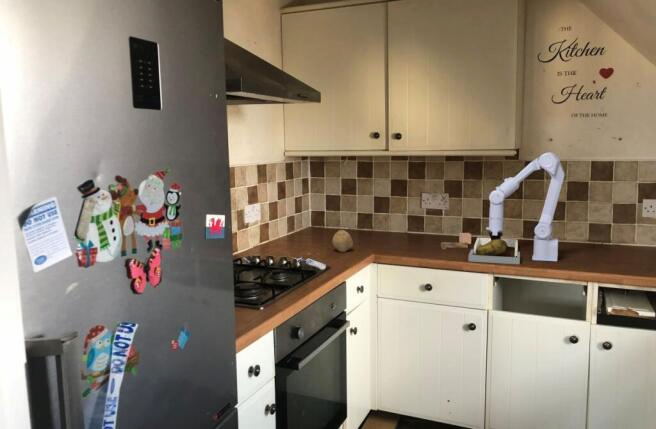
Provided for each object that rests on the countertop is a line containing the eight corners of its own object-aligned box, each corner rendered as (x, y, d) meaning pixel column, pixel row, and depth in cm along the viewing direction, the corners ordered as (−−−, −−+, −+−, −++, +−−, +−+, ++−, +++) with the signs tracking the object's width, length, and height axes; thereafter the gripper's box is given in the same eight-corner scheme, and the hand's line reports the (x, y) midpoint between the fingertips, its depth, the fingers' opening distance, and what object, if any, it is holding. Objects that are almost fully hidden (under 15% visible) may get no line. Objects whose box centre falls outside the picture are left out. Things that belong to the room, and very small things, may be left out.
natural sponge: (328, 251, 251) (328, 229, 250) (344, 248, 256) (344, 227, 254) (339, 254, 243) (339, 232, 242) (355, 252, 248) (355, 230, 247)
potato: (473, 252, 240) (475, 234, 238) (504, 255, 238) (506, 237, 236) (475, 258, 232) (477, 240, 230) (506, 261, 230) (509, 243, 228)
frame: (519, 257, 234) (519, 251, 233) (519, 264, 221) (519, 258, 221) (471, 254, 240) (471, 249, 240) (468, 261, 228) (468, 255, 228)
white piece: (517, 246, 256) (517, 239, 255) (517, 256, 235) (517, 248, 235) (477, 244, 261) (477, 237, 261) (473, 254, 241) (473, 246, 241)
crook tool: (467, 246, 257) (467, 242, 257) (469, 249, 252) (469, 245, 251) (441, 246, 258) (441, 242, 258) (442, 249, 253) (442, 244, 252)
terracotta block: (468, 241, 269) (468, 232, 268) (470, 243, 264) (471, 234, 264) (459, 242, 269) (459, 233, 268) (461, 243, 264) (461, 234, 264)
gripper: (487, 215, 245) (486, 245, 247) (485, 220, 231) (484, 251, 233) (504, 215, 242) (502, 246, 244) (503, 220, 229) (501, 252, 231)
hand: (494, 248), depth 239 cm, fingers closed, pressing on potato
